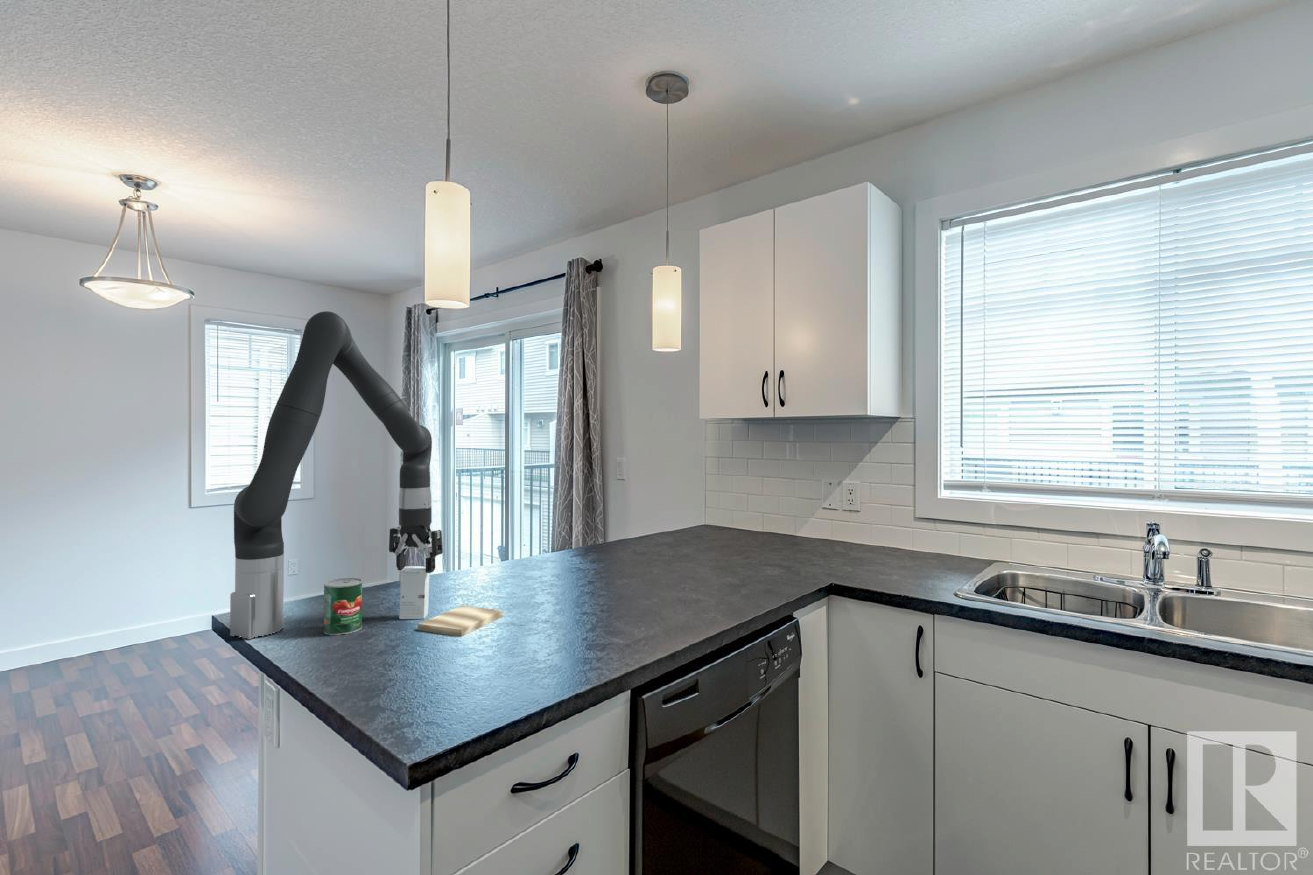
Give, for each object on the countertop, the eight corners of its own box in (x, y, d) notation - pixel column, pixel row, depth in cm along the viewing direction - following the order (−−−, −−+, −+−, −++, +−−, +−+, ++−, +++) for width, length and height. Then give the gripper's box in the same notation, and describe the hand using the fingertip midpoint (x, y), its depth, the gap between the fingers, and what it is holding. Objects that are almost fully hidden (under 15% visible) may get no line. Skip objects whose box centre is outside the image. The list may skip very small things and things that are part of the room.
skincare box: (398, 619, 148) (399, 569, 148) (403, 614, 153) (404, 565, 153) (425, 619, 149) (425, 569, 149) (429, 613, 154) (429, 565, 153)
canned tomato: (345, 636, 136) (346, 587, 136) (315, 634, 137) (315, 585, 137) (369, 625, 144) (369, 578, 143) (340, 623, 145) (340, 577, 145)
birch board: (461, 636, 137) (461, 629, 137) (417, 630, 141) (417, 623, 141) (502, 616, 152) (502, 610, 152) (462, 611, 156) (462, 605, 156)
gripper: (380, 506, 150) (381, 572, 150) (428, 508, 145) (429, 576, 145) (402, 502, 157) (403, 565, 157) (449, 504, 152) (449, 569, 153)
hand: (415, 571), depth 151 cm, fingers open, 8 cm apart
